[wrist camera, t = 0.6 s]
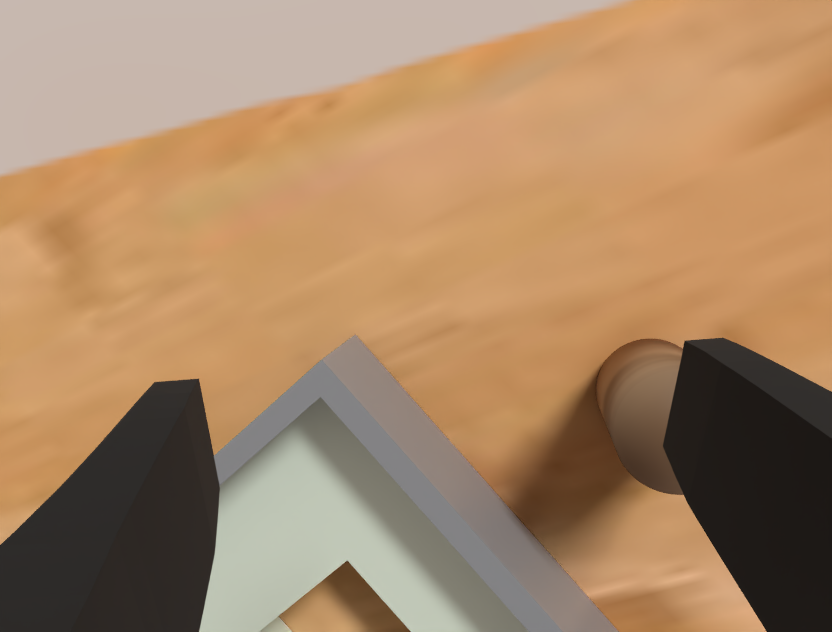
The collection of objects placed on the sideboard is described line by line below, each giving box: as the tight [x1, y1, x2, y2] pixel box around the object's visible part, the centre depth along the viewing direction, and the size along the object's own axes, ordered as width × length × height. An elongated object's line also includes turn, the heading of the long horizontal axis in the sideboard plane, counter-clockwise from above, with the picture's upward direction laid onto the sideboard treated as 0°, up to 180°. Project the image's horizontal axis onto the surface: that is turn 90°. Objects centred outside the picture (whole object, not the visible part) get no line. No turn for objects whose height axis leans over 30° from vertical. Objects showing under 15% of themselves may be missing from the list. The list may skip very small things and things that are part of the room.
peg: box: [596, 339, 684, 495], centre depth 27 cm, size 4×4×6 cm
